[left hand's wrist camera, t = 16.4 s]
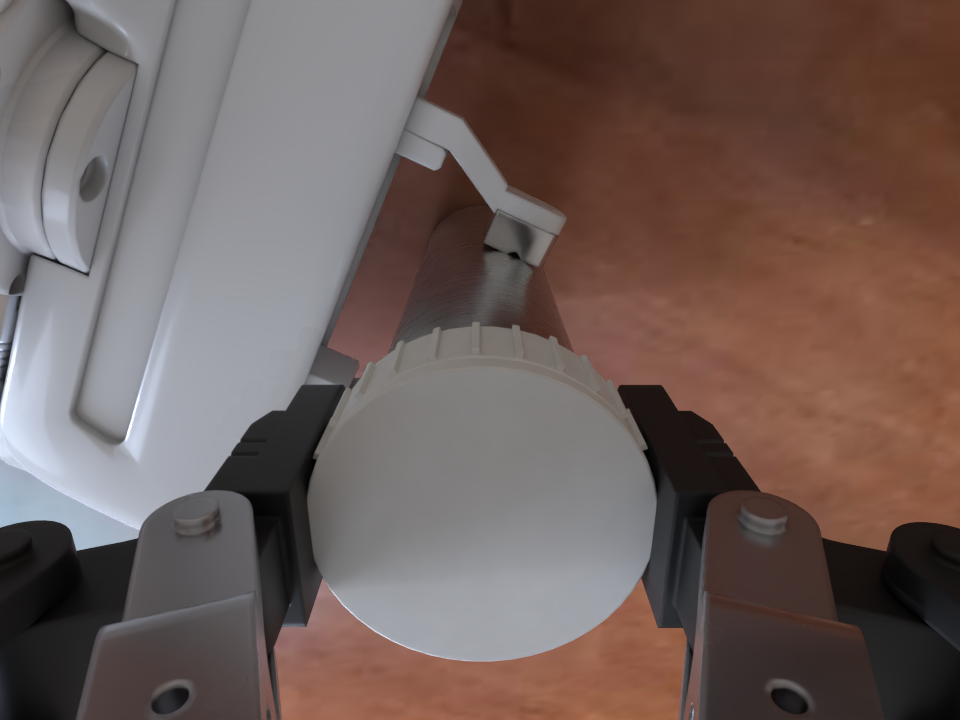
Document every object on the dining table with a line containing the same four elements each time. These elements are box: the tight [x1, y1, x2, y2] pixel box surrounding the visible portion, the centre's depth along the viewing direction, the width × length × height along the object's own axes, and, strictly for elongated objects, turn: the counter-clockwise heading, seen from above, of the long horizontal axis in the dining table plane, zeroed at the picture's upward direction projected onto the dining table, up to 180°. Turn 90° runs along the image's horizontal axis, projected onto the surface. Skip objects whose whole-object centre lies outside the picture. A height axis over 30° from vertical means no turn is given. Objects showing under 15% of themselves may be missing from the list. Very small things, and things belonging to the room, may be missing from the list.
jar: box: [388, 205, 574, 354], centre depth 17 cm, size 4×4×16 cm
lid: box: [307, 322, 657, 661], centre depth 10 cm, size 5×5×2 cm
